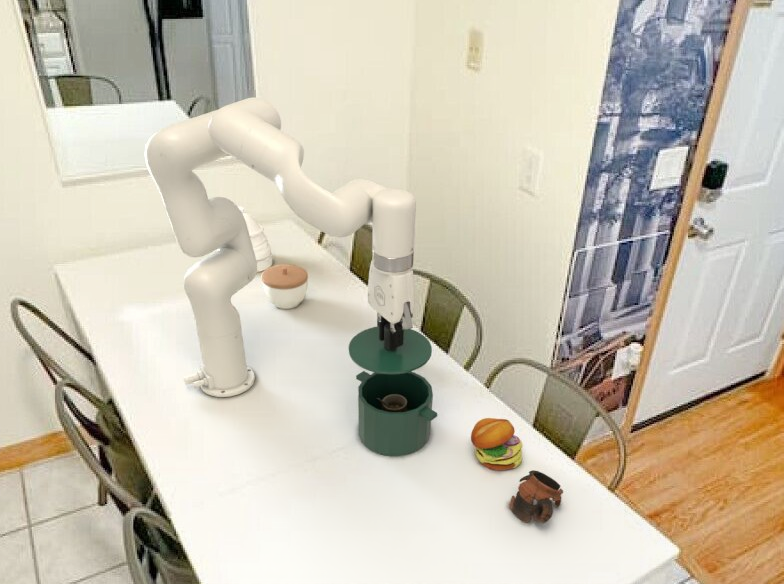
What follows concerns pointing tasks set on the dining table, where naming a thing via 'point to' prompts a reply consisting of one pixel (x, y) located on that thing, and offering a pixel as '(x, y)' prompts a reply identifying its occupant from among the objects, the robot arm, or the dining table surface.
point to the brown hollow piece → (536, 497)
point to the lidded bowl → (285, 285)
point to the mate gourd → (394, 403)
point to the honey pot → (258, 242)
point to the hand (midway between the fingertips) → (391, 341)
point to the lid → (389, 351)
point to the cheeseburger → (496, 444)
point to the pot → (394, 413)
